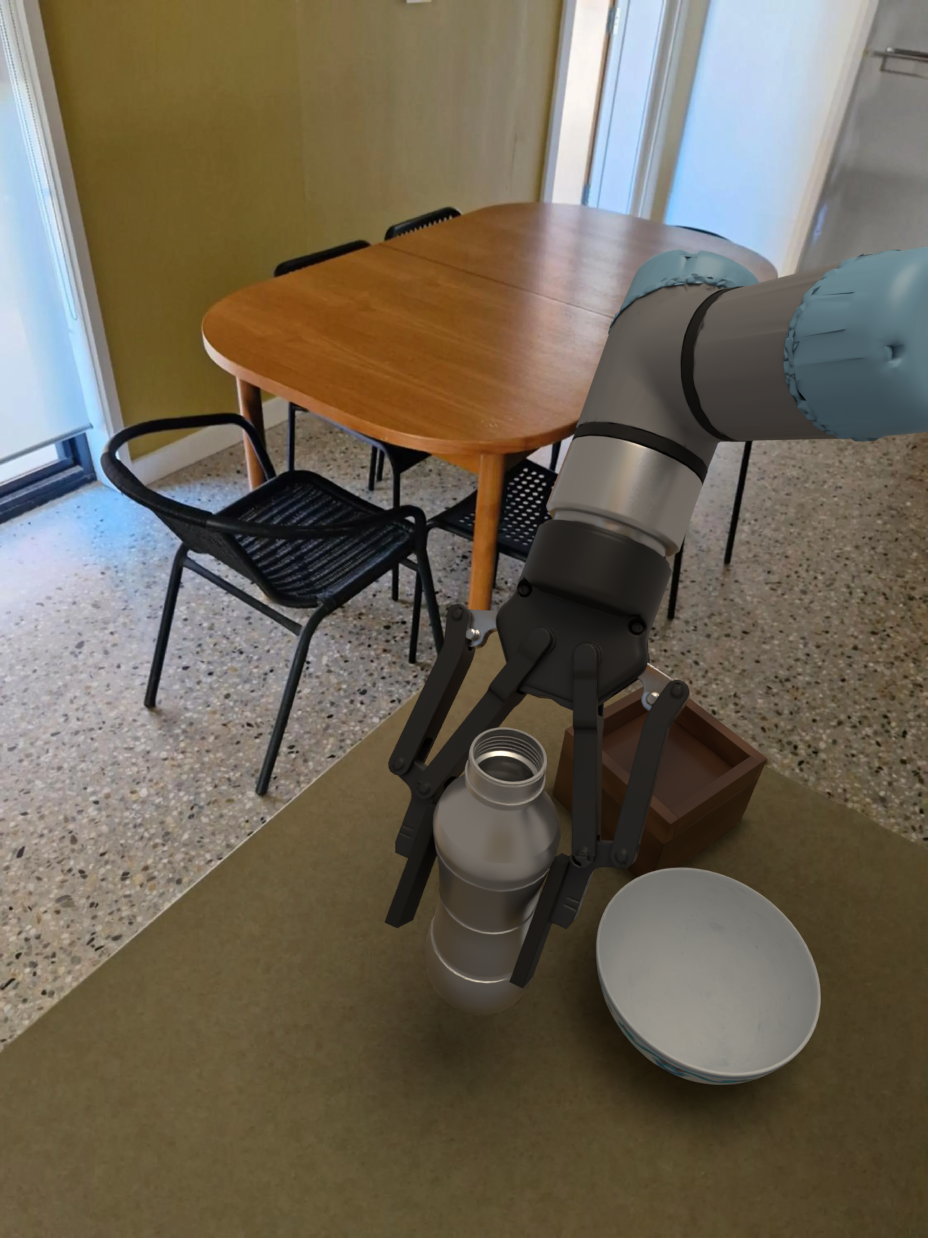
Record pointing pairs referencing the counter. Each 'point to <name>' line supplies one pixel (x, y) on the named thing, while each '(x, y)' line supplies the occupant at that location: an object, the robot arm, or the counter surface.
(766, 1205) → the counter surface
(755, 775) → the walnut box
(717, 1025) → the chinaware
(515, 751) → the metal bottle
